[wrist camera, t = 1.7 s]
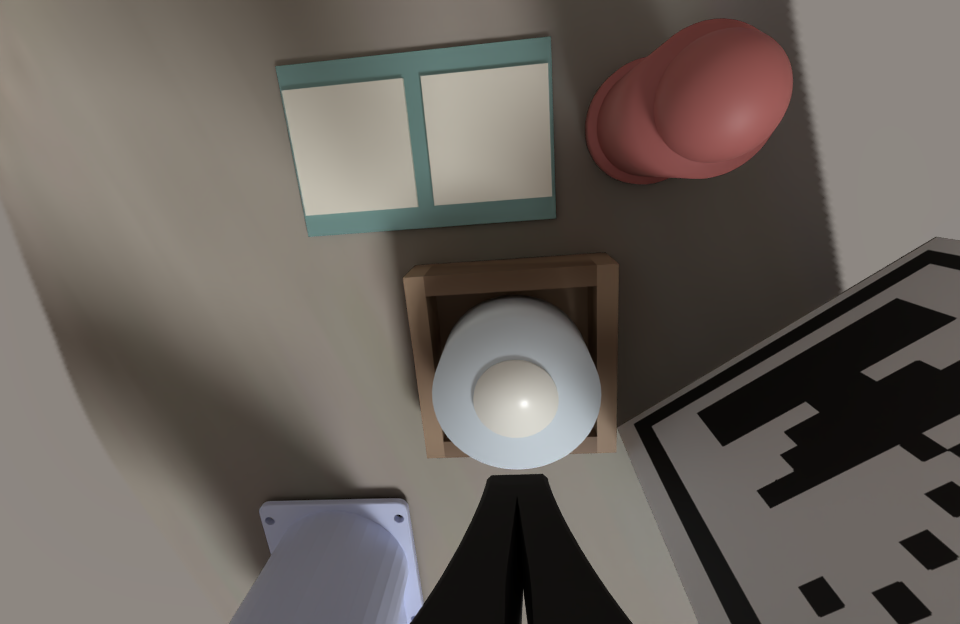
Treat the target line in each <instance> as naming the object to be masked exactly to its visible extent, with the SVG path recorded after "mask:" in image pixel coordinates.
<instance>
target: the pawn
mask: <svg viewBox="0 0 960 624" xmlns="http://www.w3.org/2000/svg"><path fill="white" fill-rule="evenodd" d="M792 89H793V73H792V68H791V64H790V61H789V58H788V56H787V55H786V53H785V51H784V50H783V48H782V47H781V46H780V45H779V44H778V43H777V42H776V41H775V40H774V39H773V38H772V37H770V36H769V35H767V34H765V33H763V32H761V31H759V30H758V29H756V28H755V27H753V26H751V25H749V24H747V23H745V22H741V21H738V20H734V19H725V18H724V19H711V20H705V21H701V22H698V23H695V24H693V25H690V26H688V27H686V28H684V29H682V30H681V31H679V32H678V33H676V34H675V35H673V36H672V37H671V38H670V39H668V40H667V41H666V42H665V43H663V44H662V45H661V46H660V47H659V48H657V49H656V50H655V51H654V52H652V53H651V54H650V55H649V56H648V57H644V58H640V59H637V60H634V61H632V62H630V63H628V64H626V65H624V66H623V67H621V68H620V69H618V70H617V71H616V72H615V73H613V74H612V75H611V76H610V77H609V78H608V79H607V80H606V81H605V82H604V83H603V84H602V85H601V87H600V88H599V89H598V91H597V92H596V94H595V95H594V97H593V99H592V101H591V104H590V106H589V109H588V112H587V117H586V122H585V136H586V142H587V146H588V149H589V152H590V154H591V156H592V158H593V160H594V161H595V163H596V164H597V166H598V167H599V168H600V169H601V170H602V171H603V172H605V173H606V174H607V175H609V176H610V177H612V178H614V179H616V180H618V181H622V182H625V183H632V184H652V183H657V182H660V181H663V180H666V179H668V178H689V179H704V178H711V177H716V176H719V175H723V174H725V173H728V172H730V171H732V170H734V169H736V168H738V167H739V166H741V165H743V164H744V163H745V162H747V161H748V160H749V159H751V158H752V157H753V156H754V155H755V154H756V153H757V152H758V151H759V150H760V149H761V148H762V147H763V146H764V144H765V143H766V142H767V140H768V139H769V138H770V136H771V134H772V133H773V131H774V130H775V129H776V127H777V126H778V124H779V123H780V121H781V120H782V118H783V116H784V114H785V112H786V110H787V108H788V105H789V102H790V99H791V95H792Z"/></svg>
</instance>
